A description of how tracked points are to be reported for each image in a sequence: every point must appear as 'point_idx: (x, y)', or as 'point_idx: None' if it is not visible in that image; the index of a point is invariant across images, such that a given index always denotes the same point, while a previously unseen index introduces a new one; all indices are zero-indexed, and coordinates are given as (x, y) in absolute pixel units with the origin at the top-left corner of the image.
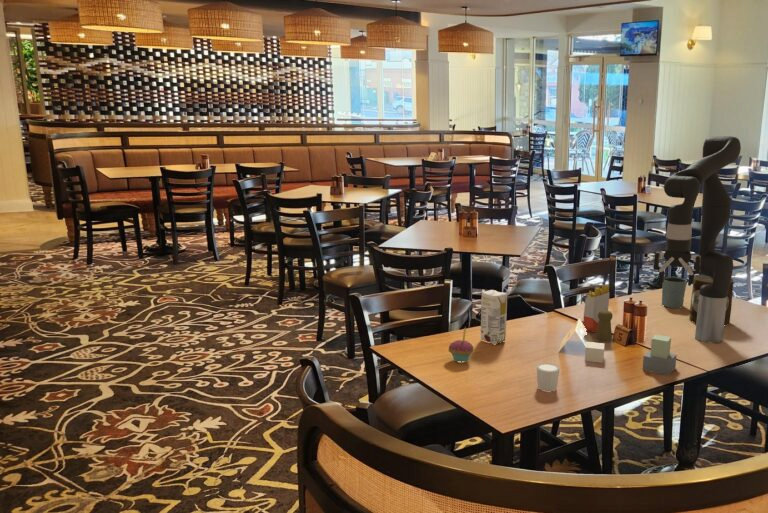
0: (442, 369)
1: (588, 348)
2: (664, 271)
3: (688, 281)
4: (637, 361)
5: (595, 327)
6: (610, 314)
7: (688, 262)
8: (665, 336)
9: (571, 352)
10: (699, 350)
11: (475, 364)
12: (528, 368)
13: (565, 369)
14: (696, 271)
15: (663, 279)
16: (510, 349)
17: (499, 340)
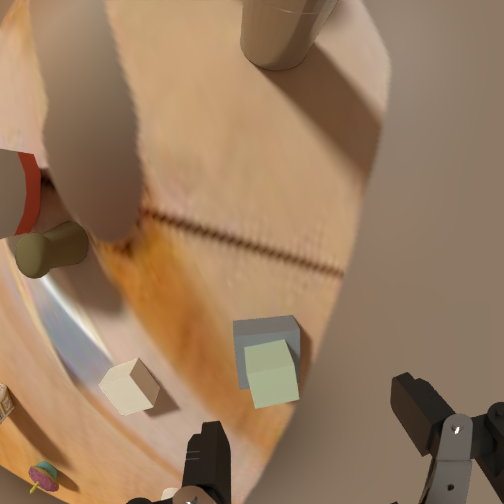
0: (66, 490)
1: (127, 413)
2: (216, 484)
3: (403, 424)
4: (206, 335)
5: (31, 216)
6: (43, 261)
7: (465, 497)
8: (278, 370)
9: (86, 373)
10: (291, 140)
11: (66, 471)
12: (107, 461)
13: (141, 444)
14: (479, 456)
15: (224, 449)
16: (34, 411)
17: (10, 404)
